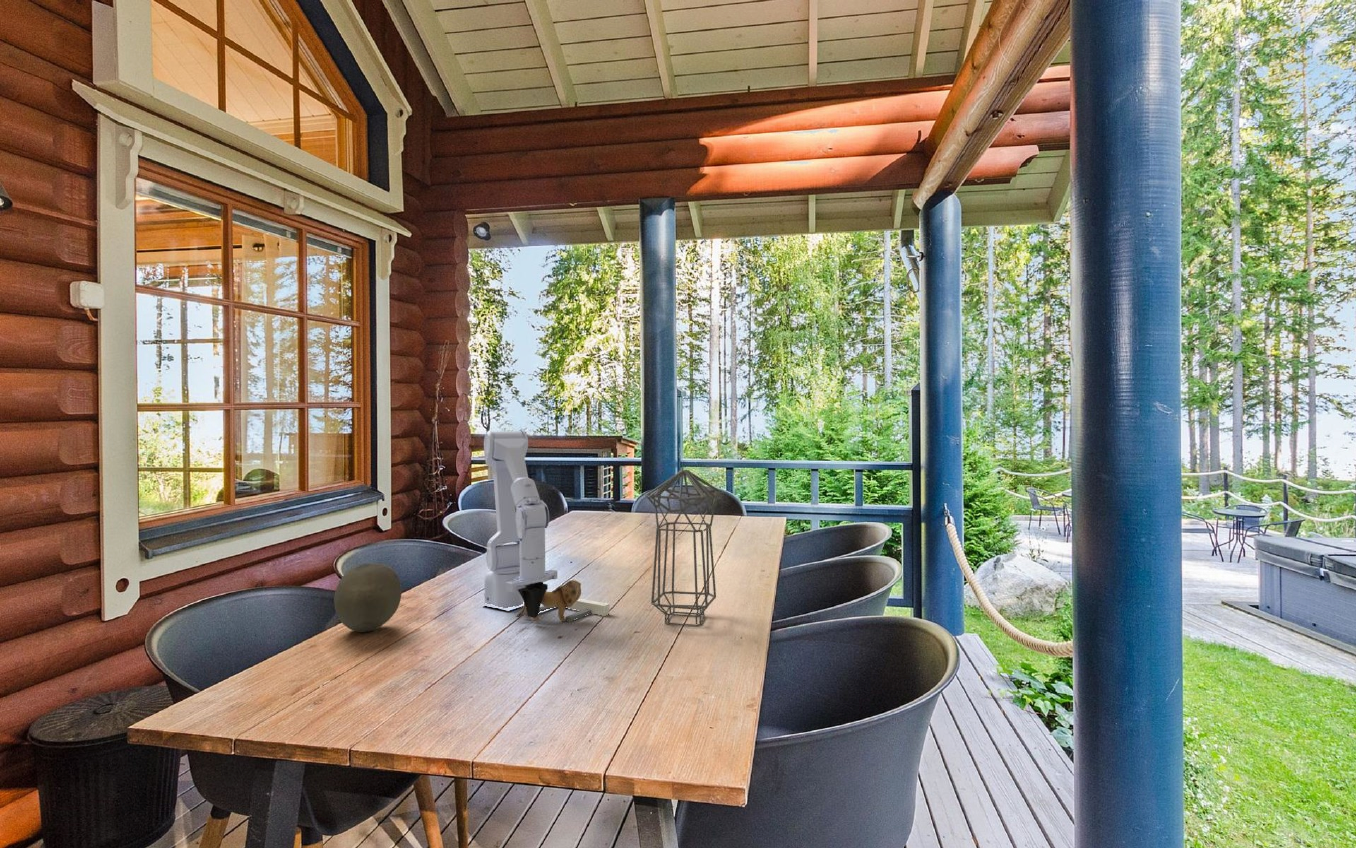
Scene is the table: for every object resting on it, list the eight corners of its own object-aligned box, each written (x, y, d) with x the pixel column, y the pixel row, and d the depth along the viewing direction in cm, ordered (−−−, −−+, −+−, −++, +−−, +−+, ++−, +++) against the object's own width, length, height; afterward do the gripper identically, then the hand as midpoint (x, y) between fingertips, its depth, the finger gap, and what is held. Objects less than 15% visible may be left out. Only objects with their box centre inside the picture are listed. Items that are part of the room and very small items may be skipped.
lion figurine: (579, 616, 159) (581, 578, 160) (580, 621, 154) (582, 582, 155) (516, 617, 156) (518, 578, 157) (515, 622, 151) (517, 581, 152)
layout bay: (520, 611, 162) (520, 601, 162) (547, 602, 170) (547, 592, 170) (584, 624, 152) (583, 613, 152) (609, 614, 160) (609, 603, 160)
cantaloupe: (318, 638, 143) (317, 569, 143) (366, 619, 157) (366, 556, 157) (371, 645, 139) (371, 573, 139) (417, 624, 152) (416, 559, 152)
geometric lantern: (643, 628, 149) (642, 472, 149) (661, 608, 165) (660, 467, 164) (712, 632, 146) (711, 473, 145) (724, 612, 161) (723, 467, 161)
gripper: (522, 565, 143) (522, 627, 144) (567, 553, 156) (567, 611, 156) (499, 561, 147) (499, 622, 147) (544, 550, 160) (545, 606, 160)
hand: (532, 616), depth 152 cm, fingers closed
